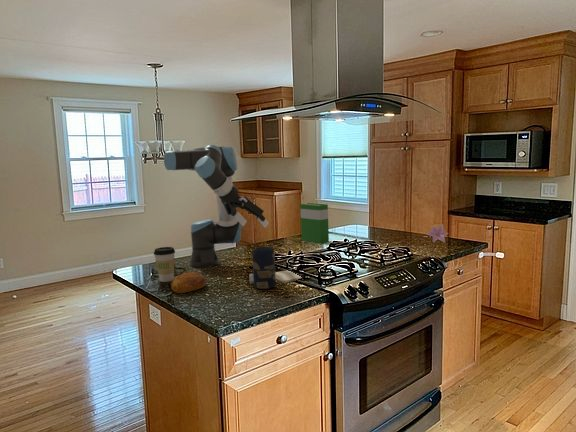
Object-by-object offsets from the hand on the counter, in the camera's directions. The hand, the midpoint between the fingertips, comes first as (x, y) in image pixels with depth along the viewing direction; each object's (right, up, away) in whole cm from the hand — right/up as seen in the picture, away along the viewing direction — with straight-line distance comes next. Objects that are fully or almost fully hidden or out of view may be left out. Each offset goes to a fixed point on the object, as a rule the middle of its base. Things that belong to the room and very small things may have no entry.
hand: (255, 224), depth 188 cm
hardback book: (+31, -13, +103) cm, 108 cm away
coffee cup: (-43, -27, +23) cm, 56 cm away
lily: (+105, -12, +88) cm, 137 cm away
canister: (+4, -27, +6) cm, 28 cm away
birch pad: (+14, -25, +20) cm, 35 cm away
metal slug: (-2, -26, +12) cm, 29 cm away
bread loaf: (-30, -28, +9) cm, 42 cm away
